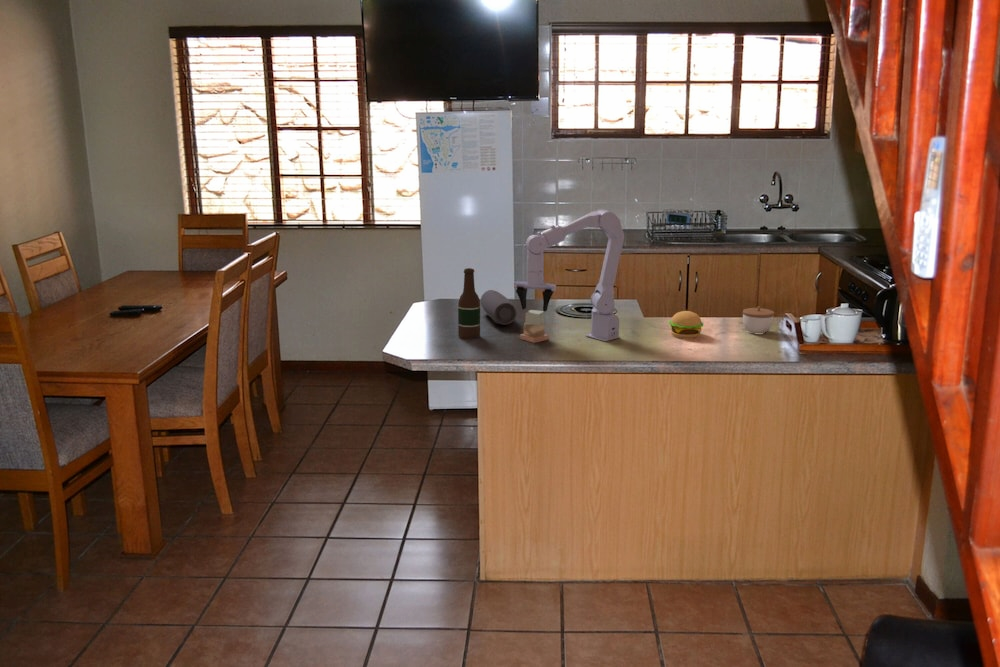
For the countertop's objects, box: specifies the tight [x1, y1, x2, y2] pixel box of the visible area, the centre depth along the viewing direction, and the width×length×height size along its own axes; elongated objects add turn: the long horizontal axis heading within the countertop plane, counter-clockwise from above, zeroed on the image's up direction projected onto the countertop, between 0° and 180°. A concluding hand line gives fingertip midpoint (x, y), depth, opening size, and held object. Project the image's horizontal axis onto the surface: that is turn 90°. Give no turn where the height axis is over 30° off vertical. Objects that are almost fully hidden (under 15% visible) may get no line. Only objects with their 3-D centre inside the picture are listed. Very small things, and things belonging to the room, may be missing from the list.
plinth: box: [519, 333, 549, 344], centre depth 308 cm, size 7×7×2 cm
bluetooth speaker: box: [480, 289, 517, 326], centre depth 333 cm, size 23×9×10 cm, turn 14°
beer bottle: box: [457, 267, 481, 340], centre depth 308 cm, size 8×8×24 cm
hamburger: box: [668, 310, 704, 339], centre depth 313 cm, size 12×12×9 cm
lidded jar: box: [742, 306, 775, 334], centre depth 318 cm, size 11×11×9 cm
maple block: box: [523, 322, 545, 337], centre depth 308 cm, size 5×5×4 cm
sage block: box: [524, 309, 545, 326], centre depth 307 cm, size 5×5×4 cm
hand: (534, 309), depth 306 cm, fingers open, 7 cm apart
